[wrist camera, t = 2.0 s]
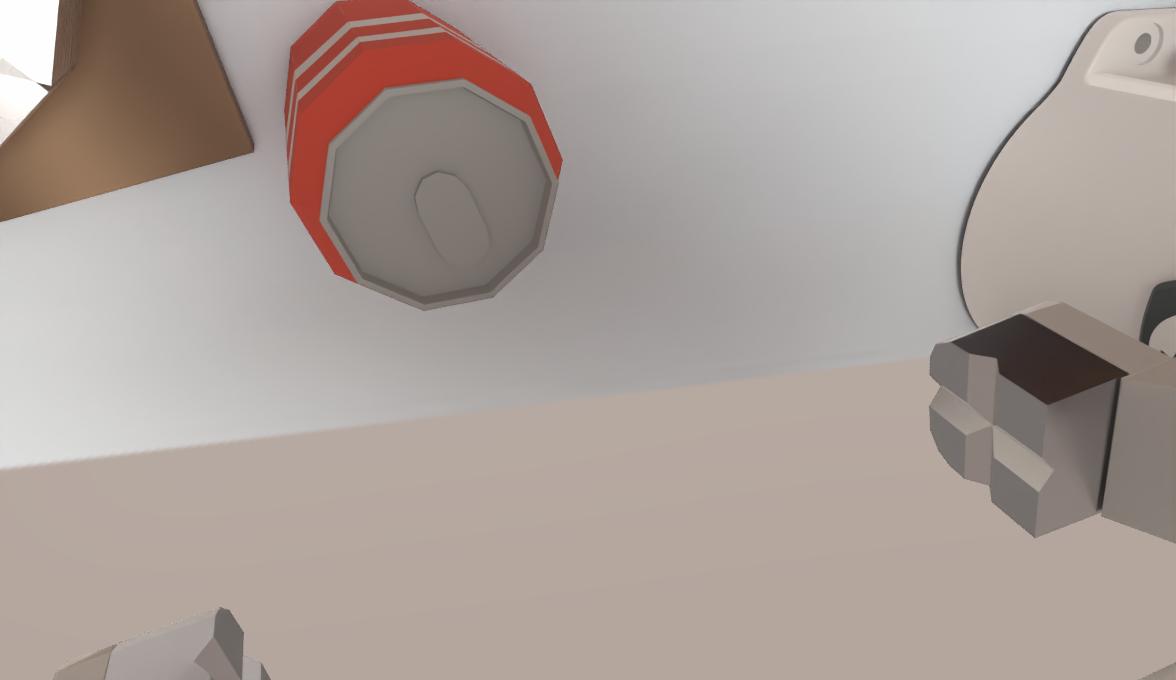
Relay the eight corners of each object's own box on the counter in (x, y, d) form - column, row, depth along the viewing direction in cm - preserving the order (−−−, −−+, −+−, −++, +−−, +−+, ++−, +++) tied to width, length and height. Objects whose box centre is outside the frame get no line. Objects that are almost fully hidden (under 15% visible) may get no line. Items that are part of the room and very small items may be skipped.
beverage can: (348, 214, 30) (387, 376, 20) (246, 41, 27) (231, 130, 17) (502, 138, 31) (615, 258, 21) (421, -42, 28) (508, -3, 17)
